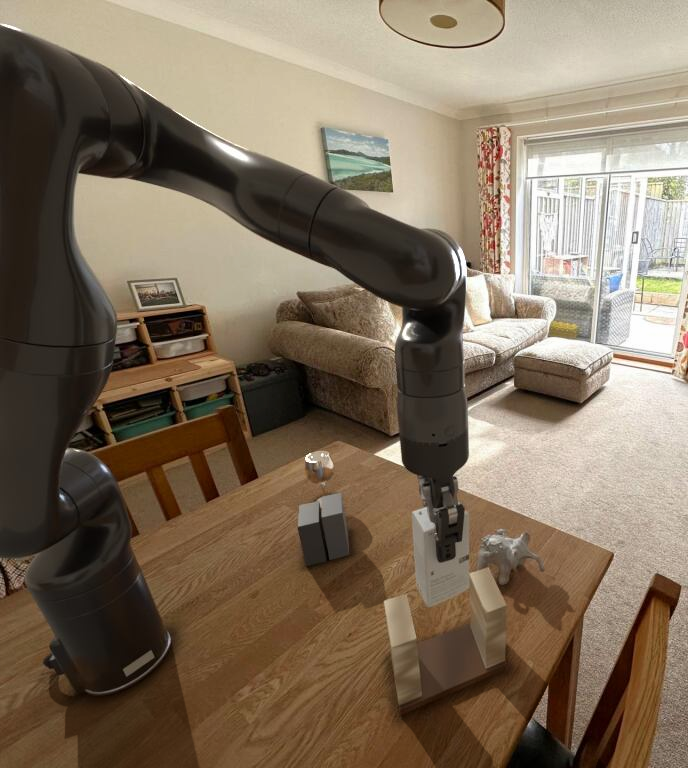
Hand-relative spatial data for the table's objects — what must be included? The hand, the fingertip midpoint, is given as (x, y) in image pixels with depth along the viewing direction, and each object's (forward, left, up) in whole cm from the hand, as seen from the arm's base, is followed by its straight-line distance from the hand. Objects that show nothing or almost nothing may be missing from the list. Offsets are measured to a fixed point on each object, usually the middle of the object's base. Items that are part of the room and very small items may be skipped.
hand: (440, 543), depth 50 cm
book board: (0, 0, -22) cm, 22 cm away
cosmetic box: (0, 0, -8) cm, 8 cm away
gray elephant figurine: (+15, +12, -22) cm, 29 cm away
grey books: (-16, +30, -22) cm, 41 cm away
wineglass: (-16, +46, -22) cm, 53 cm away
